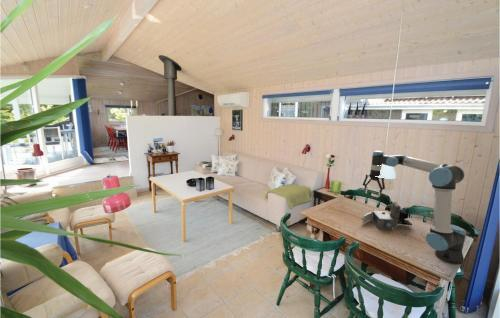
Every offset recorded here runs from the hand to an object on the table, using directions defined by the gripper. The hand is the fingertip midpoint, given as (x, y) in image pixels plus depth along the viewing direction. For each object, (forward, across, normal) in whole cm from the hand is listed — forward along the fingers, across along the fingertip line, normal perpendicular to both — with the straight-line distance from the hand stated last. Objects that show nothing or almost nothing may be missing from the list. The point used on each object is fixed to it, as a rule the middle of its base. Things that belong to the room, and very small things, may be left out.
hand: (372, 194), depth 201 cm
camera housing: (+28, -9, -7) cm, 30 cm away
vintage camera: (+28, -22, -17) cm, 39 cm away
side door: (+28, +3, -4) cm, 28 cm away
